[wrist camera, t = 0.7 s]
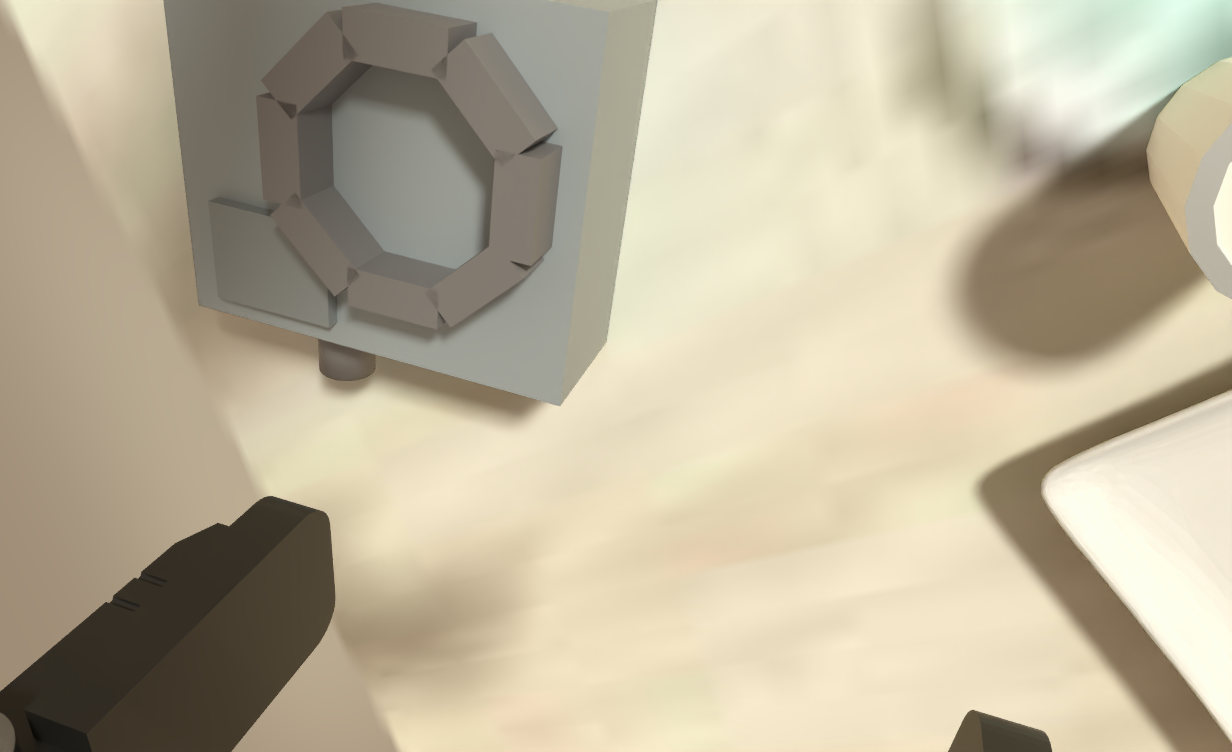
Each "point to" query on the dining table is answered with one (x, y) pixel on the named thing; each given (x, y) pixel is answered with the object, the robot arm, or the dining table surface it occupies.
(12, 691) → the robot arm
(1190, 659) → the salad plate
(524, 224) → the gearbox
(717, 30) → the dining table surface
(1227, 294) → the cream short cylinder
